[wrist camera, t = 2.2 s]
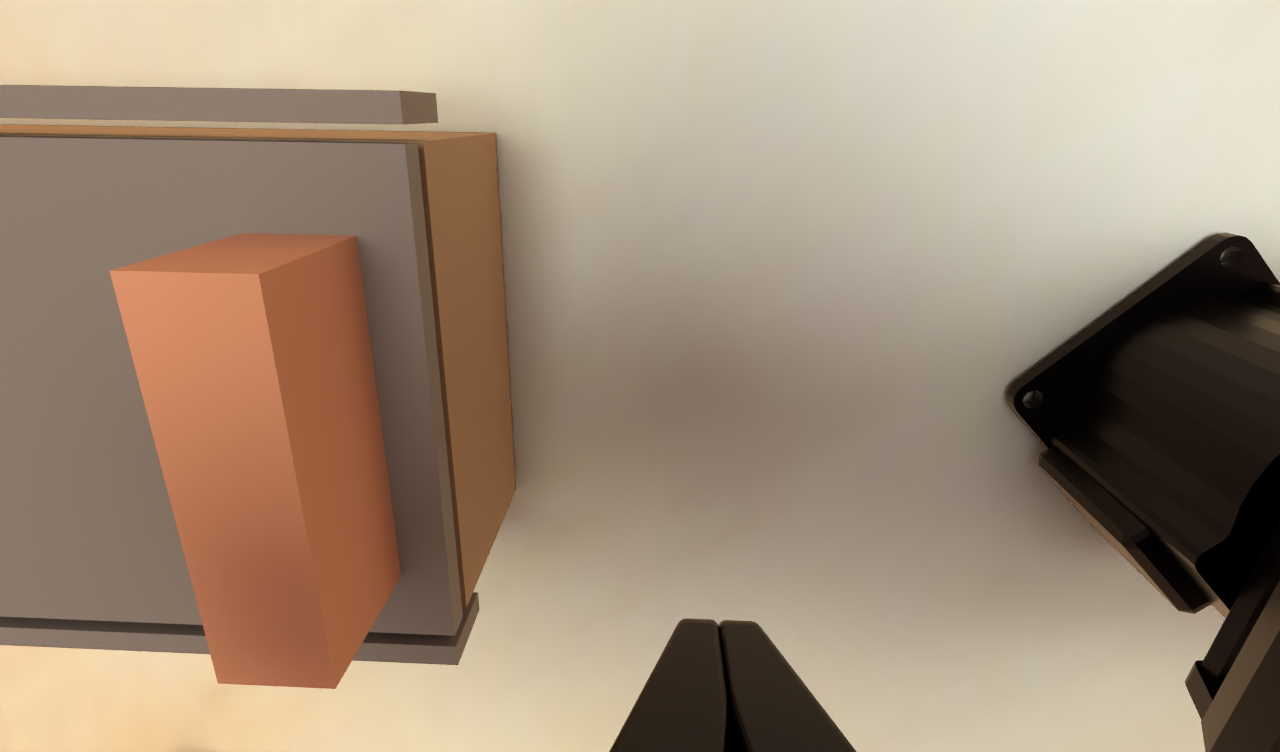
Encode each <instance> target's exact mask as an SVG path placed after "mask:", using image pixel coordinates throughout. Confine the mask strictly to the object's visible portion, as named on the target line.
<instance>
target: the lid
mask: <svg viewBox="0 0 1280 752" xmlns="http://www.w3.org/2000/svg"><path fill="white" fill-rule="evenodd" d="M0 118H44V119H105V120H166V121H227V122H288V123H350V124H420V123H438V116H437V104H436V93H422V92H409V91H380V90H312V89H244V88H175V87H107V86H39V85H0ZM478 612H479V600H478V593H474V592H473V593H472V596H471V598H470V600H469V603H468V605H467V608H464V607H462V603H461V592H460V582H459V571H458V561H457V550H456V540H455V530H454V519H453V509H452V498H451V488H450V477H449V467H448V456H447V446H446V435H445V425H444V414H443V404H442V394H441V383H440V373H439V362H438V352H437V341H436V331H435V320H434V310H433V299H432V289H431V278H430V268H429V257H428V247H427V237H426V226H425V216H424V205H423V195H422V184H421V174H420V163H419V153H418V142H363V141H305V140H247V139H189V138H131V137H73V136H15V135H0V645H14V646H36V647H59V648H82V649H105V650H128V651H150V652H173V653H196V654H210V655H211V658H212V662H213V666H214V670H215V674H216V677H217V681H218V683H221V684H243V685H265V686H287V687H309V688H331V689H336V687H337V685H338V684H339V682H340V680H341V678H342V677H343V675H344V673H345V672H346V670H347V668H348V666H349V665H350V663H351V661H352V660H356V661H378V662H401V663H424V664H447V665H458V663H459V661H460V658H461V656H462V653H463V651H464V648H465V645H466V643H467V640H468V638H469V635H470V632H471V630H472V627H473V625H474V622H475V619H476V617H477V614H478Z"/></svg>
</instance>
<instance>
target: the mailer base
mask: <svg viewBox="0 0 1280 752" xmlns="http://www.w3.org/2000/svg"><path fill="white" fill-rule="evenodd" d="M0 135H15V136H73V137H131V138H189V139H247V140H305V141H363V142H418V153H419V163H420V174H421V184H422V195H423V205H424V216H425V226H426V237H427V247H428V257H429V268H430V278H431V289H432V299H433V310H434V320H435V331H436V341H437V352H438V362H439V373H440V383H441V394H442V404H443V414H444V425H445V435H446V446H447V456H448V467H449V477H450V488H451V498H452V509H453V519H454V530H455V540H456V550H457V561H458V571H459V582H460V592H461V603H462V607H464V608H467V605H468V603H469V600H470V598H471V596H472V593H473V591H474V588H475V586H476V584H477V581H478V579H479V576H480V574H481V571H482V569H483V567H484V564H485V562H486V559H487V557H488V555H489V552H490V550H491V547H492V545H493V542H494V540H495V538H496V535H497V533H498V530H499V528H500V525H501V523H502V521H503V518H504V516H505V513H506V511H507V509H508V506H509V504H510V501H511V499H512V496H513V494H514V492H515V489H516V483H515V465H514V448H513V430H512V413H511V395H510V378H509V360H508V343H507V325H506V307H505V290H504V272H503V255H502V237H501V220H500V202H499V185H498V167H497V149H496V133H477V132H417V131H357V130H297V129H237V128H177V127H117V126H58V125H0Z"/></svg>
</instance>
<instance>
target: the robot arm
mask: <svg viewBox="0 0 1280 752" xmlns="http://www.w3.org/2000/svg"><path fill="white" fill-rule="evenodd" d="M1229 247H1230V250H1231V251H1230V255H1229V257H1228V258H1227V259H1226V260H1225V261H1223V262H1221V260H1220V258H1221V254H1222V253H1223V252H1224V250H1225V249H1226V248H1229ZM1031 391H1036V393H1035V397H1034V398H1033V399H1032V400H1031V401H1028V402H1023V398H1024V396H1025V395H1026V394H1027V393H1028V392H1031ZM1007 401H1008V403H1009V405H1010V406H1011V408H1012V409H1013V410H1014V411H1015V412H1016V413H1017V415H1018V416H1019V417H1020V418H1021V419H1022V420H1023V422H1024V423H1025V424H1026V425H1027V426H1028V427H1029V429H1030V430H1031V431H1032V432H1033V433H1034V434H1035V436H1036V437H1037V438H1038V439H1039V440H1040V442H1041V443H1042V444H1043V445H1044V446H1045V447H1046V449H1047V450H1045V451H1044V452H1043V453H1041V454H1040V457H1039V466H1040V467H1041V468H1042V469H1043V471H1044V472H1045V473H1046V474H1047V475H1048V476H1049V477H1050V479H1051V480H1052V481H1053V482H1054V483H1055V484H1056V486H1057V487H1058V488H1059V489H1060V490H1061V491H1062V492H1063V494H1064V495H1065V496H1066V497H1067V498H1068V499H1069V501H1070V502H1071V503H1072V504H1073V505H1074V506H1075V507H1076V509H1077V510H1078V511H1079V512H1080V513H1081V514H1082V515H1083V517H1084V518H1085V519H1086V520H1087V521H1088V522H1089V523H1090V524H1091V525H1092V526H1093V527H1094V528H1095V529H1096V530H1097V531H1098V532H1099V533H1100V534H1101V535H1102V536H1103V537H1104V538H1105V539H1106V540H1107V541H1108V542H1109V543H1110V544H1111V545H1112V546H1113V547H1114V548H1115V549H1116V550H1117V551H1118V552H1119V553H1120V554H1121V555H1122V556H1123V557H1124V558H1125V559H1126V560H1127V561H1129V562H1130V563H1131V564H1132V565H1133V566H1134V567H1135V568H1136V569H1137V570H1138V571H1139V572H1140V573H1141V574H1142V575H1143V576H1144V577H1145V578H1146V579H1147V580H1148V581H1149V582H1150V583H1151V584H1152V585H1153V586H1154V587H1155V588H1156V589H1157V590H1158V591H1159V592H1160V593H1161V594H1162V595H1163V596H1164V597H1165V598H1166V599H1167V600H1168V601H1169V602H1170V603H1171V604H1172V605H1173V606H1174V607H1175V608H1176V609H1177V610H1178V611H1183V612H1188V613H1193V614H1195V613H1197V612H1198V611H1200V610H1202V609H1203V608H1205V607H1207V606H1209V605H1210V604H1211V605H1212V606H1213V607H1214V608H1215V609H1216V610H1218V611H1219V612H1220V613H1221V614H1222V615H1223V616H1224V617H1225V618H1226V619H1225V621H1224V623H1223V625H1222V627H1221V628H1220V630H1219V632H1218V634H1217V636H1216V638H1215V640H1214V641H1213V643H1212V645H1211V647H1210V649H1209V651H1208V653H1207V655H1206V656H1205V658H1204V660H1203V661H1196V662H1195V663H1194V665H1193V667H1192V669H1191V671H1190V673H1189V675H1188V677H1187V679H1186V680H1185V684H1186V687H1187V689H1188V691H1189V693H1190V696H1191V698H1192V700H1193V702H1194V704H1195V707H1196V709H1197V711H1198V713H1199V715H1200V718H1201V720H1202V721H1201V724H1202V731H1203V737H1204V744H1205V751H1206V752H1280V283H1279V282H1278V280H1277V279H1276V277H1275V276H1274V274H1273V273H1272V271H1271V270H1270V268H1269V267H1268V266H1267V264H1266V263H1265V261H1264V260H1263V258H1262V257H1261V255H1260V254H1259V252H1258V251H1257V249H1256V248H1255V246H1254V245H1253V243H1252V242H1251V241H1250V240H1249V239H1247V238H1246V237H1242V236H1238V235H1233V234H1229V233H1222V234H1217V235H1215V236H1213V237H1211V238H1209V239H1208V240H1206V241H1205V242H1204V243H1202V244H1201V245H1200V246H1198V247H1197V248H1196V249H1194V250H1193V251H1192V252H1190V253H1189V254H1187V255H1186V256H1185V257H1183V258H1182V259H1181V260H1179V261H1178V262H1177V263H1175V264H1174V265H1172V266H1171V267H1170V268H1168V269H1167V270H1166V271H1164V272H1163V273H1162V274H1160V275H1159V276H1158V277H1156V278H1155V279H1153V280H1152V281H1151V282H1149V283H1148V284H1147V285H1145V286H1144V287H1143V288H1141V289H1140V290H1138V291H1137V292H1136V293H1134V294H1133V295H1132V296H1130V297H1129V298H1128V299H1126V300H1125V301H1123V302H1122V303H1121V304H1119V305H1118V306H1117V307H1115V308H1114V309H1113V310H1111V311H1110V312H1109V313H1107V314H1106V315H1104V316H1103V317H1102V318H1100V319H1099V320H1098V321H1096V322H1095V323H1094V324H1092V325H1091V326H1089V327H1088V328H1087V329H1085V330H1084V331H1083V332H1081V333H1080V334H1079V335H1077V336H1076V337H1075V338H1073V339H1072V340H1070V341H1069V342H1068V343H1066V344H1065V345H1064V346H1062V347H1061V348H1060V349H1058V350H1057V351H1055V352H1054V353H1053V354H1051V355H1050V356H1049V357H1047V358H1046V359H1045V360H1043V361H1042V362H1041V363H1039V364H1038V365H1036V366H1035V367H1034V368H1032V369H1031V370H1030V371H1028V372H1027V373H1026V374H1024V375H1023V376H1021V377H1020V378H1019V379H1017V380H1016V381H1015V382H1014V383H1013V384H1012V385H1011V386H1010V387H1009V389H1008V392H1007ZM609 752H856V750H855V749H854V748H853V746H852V745H851V744H850V743H849V741H848V740H847V739H846V737H845V736H844V735H843V733H842V732H841V731H840V730H839V728H838V727H837V726H836V724H835V723H834V722H833V720H832V719H831V718H830V717H829V715H828V714H827V713H826V711H825V710H824V709H823V707H822V706H821V705H820V704H819V702H818V701H817V700H816V698H815V697H814V696H813V695H812V693H811V692H810V691H809V689H808V688H807V687H806V685H805V684H804V683H803V682H802V680H801V679H800V678H799V676H798V675H797V674H796V672H795V671H794V670H793V669H792V667H791V666H790V665H789V663H788V662H787V661H786V659H785V658H784V657H783V656H782V654H781V653H780V652H779V650H778V649H777V648H776V646H775V645H774V644H773V643H772V641H771V640H770V639H769V637H768V636H767V635H766V634H765V632H764V631H763V630H762V628H761V627H760V626H759V625H758V624H757V623H755V622H752V621H734V620H723V621H722V622H720V624H719V626H718V624H717V623H716V622H715V621H714V620H710V619H682V620H681V621H680V622H679V623H678V625H677V626H676V628H675V630H674V632H673V634H672V636H671V638H670V639H669V641H668V643H667V645H666V647H665V649H664V651H663V652H662V654H661V656H660V658H659V660H658V662H657V664H656V666H655V667H654V669H653V671H652V673H651V675H650V677H649V679H648V680H647V682H646V684H645V686H644V688H643V690H642V692H641V694H640V695H639V697H638V699H637V701H636V703H635V705H634V707H633V708H632V710H631V712H630V714H629V716H628V718H627V720H626V722H625V723H624V725H623V727H622V729H621V731H620V733H619V735H618V736H617V738H616V740H615V742H614V744H613V746H612V748H611V750H610V751H609Z"/></svg>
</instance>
